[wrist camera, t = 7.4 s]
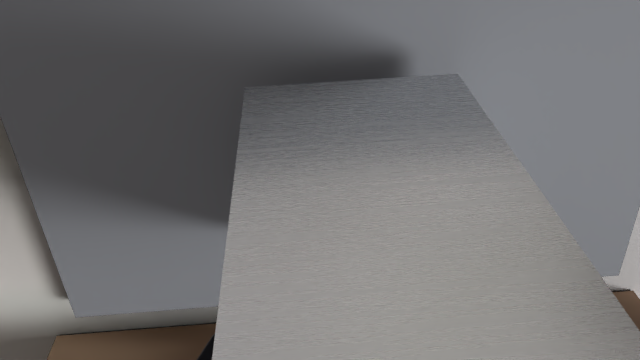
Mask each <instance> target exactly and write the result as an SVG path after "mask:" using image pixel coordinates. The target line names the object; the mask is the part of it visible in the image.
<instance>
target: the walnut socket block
mask: <svg viewBox="0 0 640 360" xmlns="http://www.w3.org/2000/svg"><path fill="white" fill-rule="evenodd" d="M612 293H613V294H614V295H615V297H616V298H617V300H618V301H619V303H620V304H621V305H622V307H623V308H624V310H625V311H626V312H627V314H628V315H629V317H630V318H631V320H632V321H633V322H634V324H635V325H636V327H637V328H638V329H639V331H640V299H639V298H638V297H637V295H636V294H635V293H634V291H623V292H612ZM215 330H216V323H215V324H202V325H190V326H177V327H164V328H151V329H139V330H126V331H113V332H100V333H88V334H75V335H62V336H56V339H55V341H54V343H53V346H52V348H51V350H50V353H49V355H48V358H47V360H197V358H198V357H199V355H200V354H201V352H202V351H203V349H204V348H205V346H206V345H207V343H208V341H209V340H210V338H211V337H212V336H213V335H214V334H215Z"/></svg>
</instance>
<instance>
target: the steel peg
mask: <svg viewBox="0 0 640 360" xmlns="http://www.w3.org/2000/svg"><path fill="white" fill-rule="evenodd" d="M212 360H640V331H639V329H638V328H637V327H636V325H635V324H634V322H633V321H632V320H631V318H630V317H629V315H628V314H627V312H626V311H625V310H624V308H623V307H622V305H621V304H620V303H619V301H618V300H617V298H616V297H615V295H614V294H613V293H612V291H611V290H610V288H609V287H608V286H607V284H606V283H605V281H604V280H603V278H602V277H601V276H600V274H599V273H598V271H597V270H596V269H595V267H594V266H593V264H592V263H591V261H590V260H589V259H588V257H587V256H586V254H585V253H584V252H583V250H582V249H581V247H580V246H579V244H578V243H577V242H576V240H575V239H574V237H573V236H572V235H571V233H570V232H569V230H568V229H567V227H566V226H565V225H564V223H563V222H562V220H561V219H560V218H559V216H558V215H557V213H556V212H555V210H554V209H553V208H552V206H551V205H550V203H549V202H548V201H547V199H546V198H545V196H544V195H543V194H542V192H541V191H540V189H539V188H538V186H537V185H536V184H535V182H534V181H533V179H532V178H531V177H530V175H529V174H528V172H527V171H526V169H525V168H524V167H523V165H522V164H521V162H520V161H519V160H518V158H517V157H516V155H515V154H514V152H513V151H512V150H511V148H510V147H509V145H508V144H507V143H506V141H505V140H504V138H503V137H502V135H501V134H500V133H499V131H498V130H497V128H496V127H495V126H494V124H493V123H492V121H491V120H490V118H489V117H488V116H487V114H486V113H485V111H484V110H483V109H482V107H481V106H480V104H479V103H478V101H477V100H476V99H475V97H474V96H473V94H472V93H471V92H470V90H469V89H468V87H467V86H466V84H465V83H464V82H463V80H462V79H461V77H460V76H459V75H458V74H444V75H429V76H413V77H397V78H382V79H366V80H350V81H335V82H319V83H304V84H288V85H272V86H257V87H245V91H244V99H243V107H242V116H241V124H240V132H239V140H238V149H237V157H236V165H235V173H234V182H233V190H232V198H231V206H230V215H229V223H228V231H227V239H226V247H225V256H224V264H223V272H222V280H221V289H220V297H219V305H218V313H217V322H216V330H215V338H214V346H213V355H212Z"/></svg>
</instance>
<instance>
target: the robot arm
mask: <svg viewBox="0 0 640 360" xmlns="http://www.w3.org/2000/svg"><path fill="white" fill-rule="evenodd" d="M214 338H215V334H214V335H213V336H212V337H211V338H210V340H209V341H208V343H207V345H206V346H205V348H204V349H203V351H202V352H201V354H200V355H199V357H198V358H197V360H212V355H213V346H214Z"/></svg>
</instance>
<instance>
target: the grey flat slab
mask: <svg viewBox="0 0 640 360" xmlns="http://www.w3.org/2000/svg"><path fill="white" fill-rule="evenodd" d="M444 74H458V75H459V76H460V77H461V79H462V80H463V82H464V83H465V84H466V86H467V87H468V89H469V90H470V92H471V93H472V94H473V96H474V97H475V99H476V100H477V101H478V103H479V104H480V106H481V107H482V109H483V110H484V111H485V113H486V114H487V116H488V117H489V118H490V120H491V121H492V123H493V124H494V126H495V127H496V128H497V130H498V131H499V133H500V134H501V135H502V137H503V138H504V140H505V141H506V143H507V144H508V145H509V147H510V148H511V150H512V151H513V152H514V154H515V155H516V157H517V158H518V160H519V161H520V162H521V164H522V165H523V167H524V168H525V169H526V171H527V172H528V174H529V175H530V177H531V178H532V179H533V181H534V182H535V184H536V185H537V186H538V188H539V189H540V191H541V192H542V194H543V195H544V196H545V198H546V199H547V201H548V202H549V203H550V205H551V206H552V208H553V209H554V210H555V212H556V213H557V215H558V216H559V218H560V219H561V220H562V222H563V223H564V225H565V226H566V227H567V229H568V230H569V232H570V233H571V235H572V236H573V237H574V239H575V240H576V242H577V243H578V244H579V246H580V247H581V249H582V250H583V252H584V253H585V254H586V256H587V257H588V259H589V260H590V261H591V263H592V264H593V266H594V267H595V269H596V270H597V271H598V273H599V274H600V276H601V277H603V276H616V275H619V273H620V269H621V266H622V263H623V259H624V256H625V253H626V250H627V246H628V243H629V240H630V236H631V233H632V230H633V227H634V223H635V220H636V217H637V213H638V210H639V207H640V0H0V117H1V119H2V122H3V125H4V127H5V130H6V133H7V135H8V138H9V141H10V144H11V146H12V149H13V152H14V154H15V157H16V160H17V162H18V165H19V168H20V170H21V173H22V176H23V178H24V181H25V184H26V186H27V189H28V192H29V194H30V197H31V200H32V202H33V205H34V208H35V210H36V213H37V216H38V218H39V221H40V224H41V227H42V229H43V232H44V235H45V237H46V240H47V243H48V245H49V248H50V251H51V253H52V256H53V259H54V261H55V264H56V267H57V269H58V272H59V275H60V277H61V280H62V283H63V285H64V288H65V291H66V293H67V296H68V299H69V301H70V304H71V307H72V310H73V312H74V315H75V317H88V316H101V315H114V314H127V313H139V312H152V311H165V310H178V309H191V308H204V307H217V306H218V305H219V297H220V289H221V280H222V272H223V264H224V256H225V247H226V239H227V231H228V223H229V215H230V206H231V198H232V190H233V182H234V173H235V165H236V157H237V149H238V140H239V132H240V124H241V116H242V107H243V99H244V91H245V87H257V86H272V85H288V84H304V83H319V82H335V81H350V80H366V79H382V78H397V77H413V76H429V75H444Z"/></svg>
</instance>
